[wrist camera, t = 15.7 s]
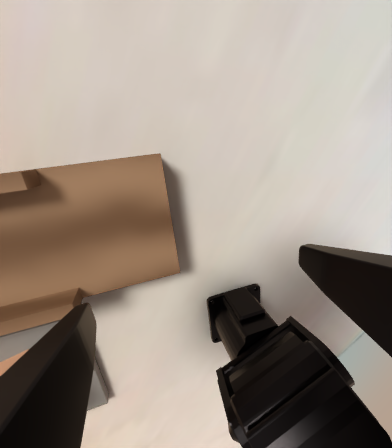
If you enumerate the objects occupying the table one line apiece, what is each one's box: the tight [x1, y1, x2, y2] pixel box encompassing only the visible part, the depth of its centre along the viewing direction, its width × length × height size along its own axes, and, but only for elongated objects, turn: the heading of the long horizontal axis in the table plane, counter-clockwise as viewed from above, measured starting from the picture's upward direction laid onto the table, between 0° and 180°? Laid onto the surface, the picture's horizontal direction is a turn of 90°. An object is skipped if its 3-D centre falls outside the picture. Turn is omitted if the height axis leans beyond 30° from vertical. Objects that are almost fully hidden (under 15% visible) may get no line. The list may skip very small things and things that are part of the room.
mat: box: [0, 320, 109, 411], centre depth 20 cm, size 12×12×1 cm
